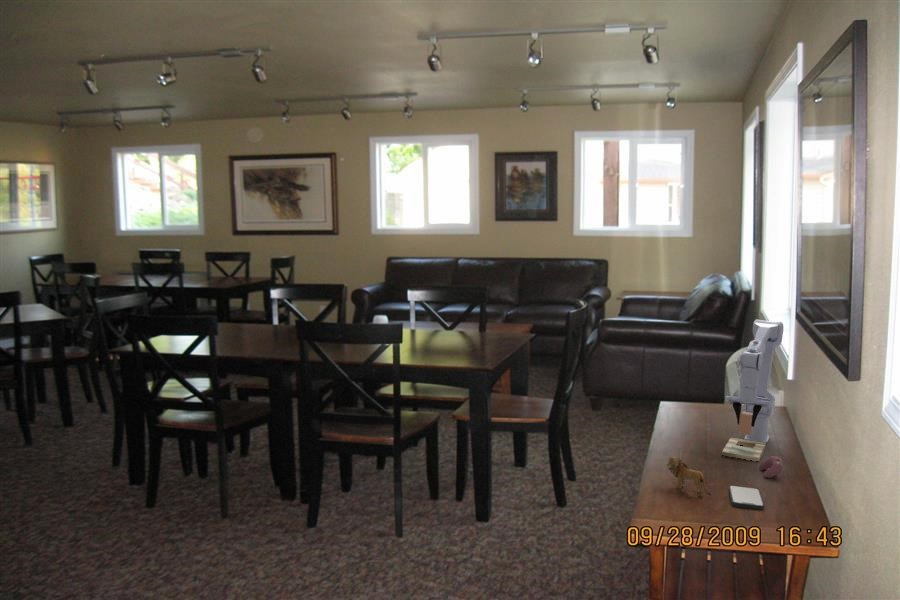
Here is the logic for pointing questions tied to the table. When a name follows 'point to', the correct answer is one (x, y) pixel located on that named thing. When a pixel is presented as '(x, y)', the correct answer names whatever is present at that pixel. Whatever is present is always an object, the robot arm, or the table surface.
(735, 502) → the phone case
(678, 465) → the lion figurine
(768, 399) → the robot arm
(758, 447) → the board
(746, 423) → the terracotta block
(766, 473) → the video game controller
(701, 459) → the table surface
